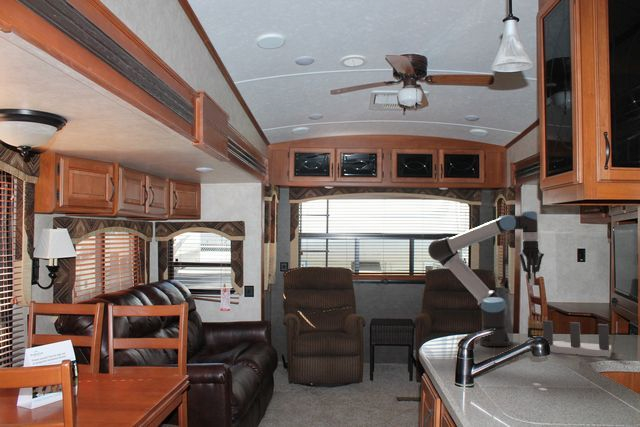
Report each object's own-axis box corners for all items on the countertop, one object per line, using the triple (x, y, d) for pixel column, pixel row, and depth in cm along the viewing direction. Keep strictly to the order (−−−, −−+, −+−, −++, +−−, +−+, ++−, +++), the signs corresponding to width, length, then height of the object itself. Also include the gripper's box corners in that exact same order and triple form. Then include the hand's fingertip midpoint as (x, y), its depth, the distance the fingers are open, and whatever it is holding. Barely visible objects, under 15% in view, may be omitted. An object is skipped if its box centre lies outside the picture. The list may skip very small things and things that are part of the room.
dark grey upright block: (580, 346, 254) (579, 323, 254) (570, 346, 256) (569, 322, 256) (580, 345, 256) (579, 322, 256) (571, 345, 258) (570, 322, 258)
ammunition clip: (527, 336, 295) (526, 314, 296) (528, 336, 297) (527, 314, 297) (548, 338, 290) (547, 316, 290) (549, 338, 291) (548, 315, 292)
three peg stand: (610, 357, 246) (609, 325, 247) (542, 351, 261) (541, 321, 261) (611, 351, 257) (610, 321, 258) (546, 346, 272) (545, 317, 272)
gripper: (520, 240, 282) (521, 286, 281) (545, 240, 281) (547, 285, 280) (515, 240, 289) (517, 284, 288) (540, 240, 289) (541, 284, 288)
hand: (531, 285), depth 284 cm, fingers closed
